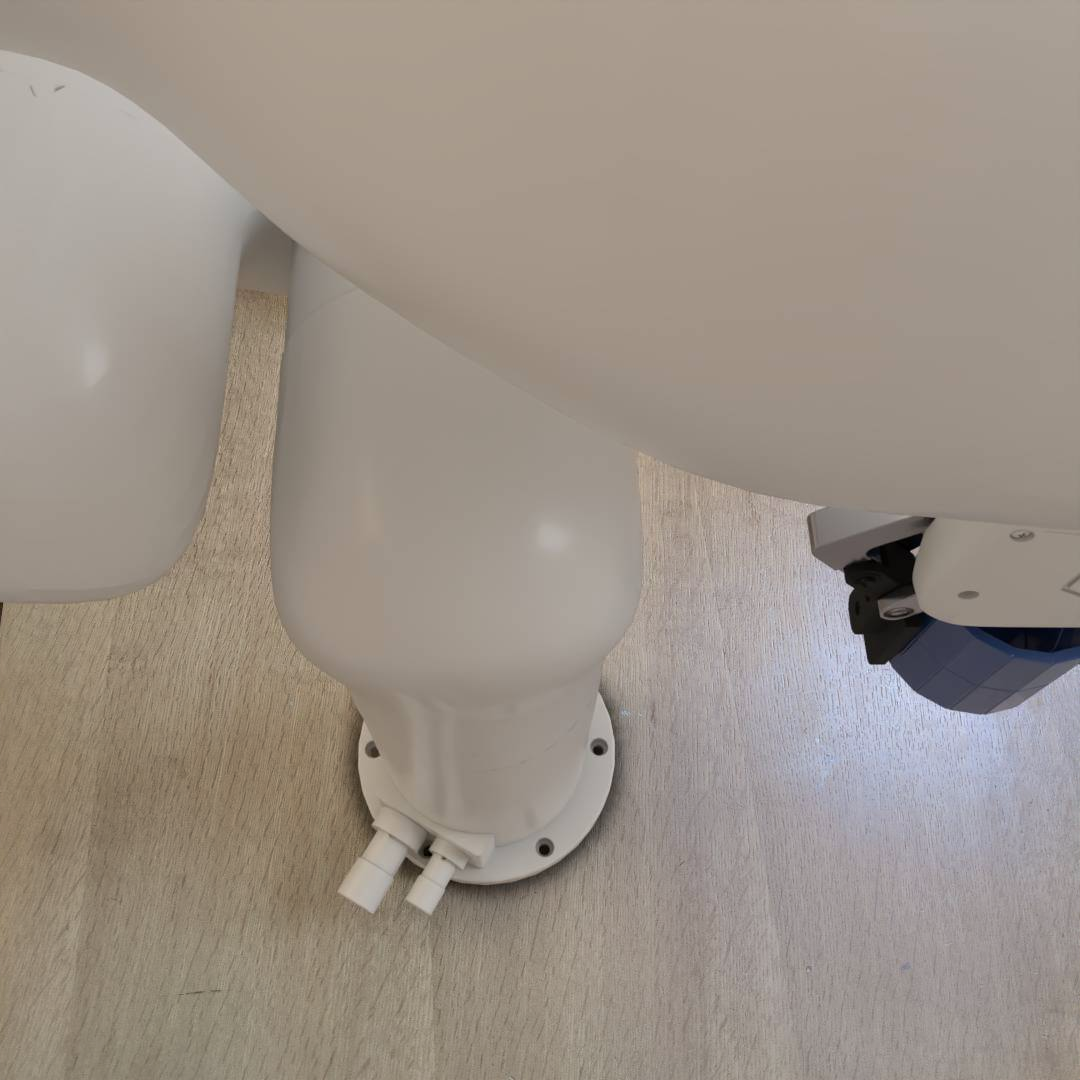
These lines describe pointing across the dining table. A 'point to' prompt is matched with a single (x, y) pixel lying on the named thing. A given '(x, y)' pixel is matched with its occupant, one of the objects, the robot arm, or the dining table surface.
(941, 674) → the blue cup
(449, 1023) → the dining table surface
